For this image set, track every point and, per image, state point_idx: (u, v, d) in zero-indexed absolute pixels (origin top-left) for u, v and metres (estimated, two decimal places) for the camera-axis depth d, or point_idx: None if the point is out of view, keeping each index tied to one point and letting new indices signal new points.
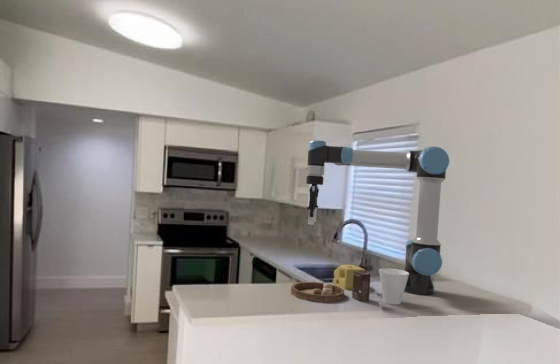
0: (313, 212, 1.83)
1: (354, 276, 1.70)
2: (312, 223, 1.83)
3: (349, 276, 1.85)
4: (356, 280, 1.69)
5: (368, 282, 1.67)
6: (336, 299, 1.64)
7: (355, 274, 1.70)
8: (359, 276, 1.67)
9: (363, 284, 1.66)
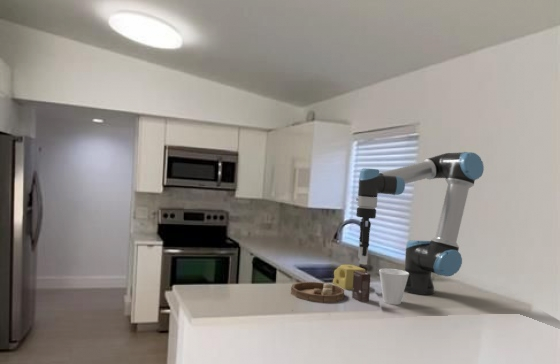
0: None
1: (354, 276, 1.70)
2: (365, 262, 1.62)
3: (349, 276, 1.85)
4: (356, 280, 1.69)
5: (368, 282, 1.67)
6: (336, 299, 1.64)
7: (355, 274, 1.70)
8: (359, 276, 1.67)
9: (363, 284, 1.66)
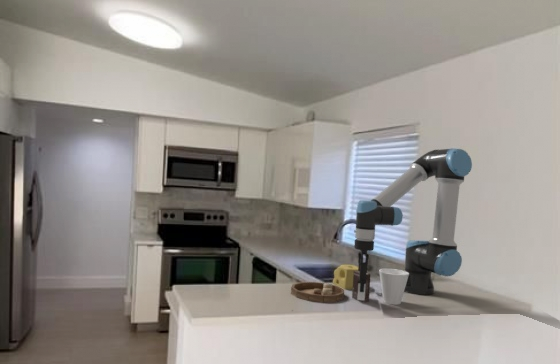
0: None
1: (354, 276, 1.70)
2: (362, 298, 1.65)
3: (349, 276, 1.85)
4: (356, 279, 1.69)
5: (368, 282, 1.67)
6: (336, 299, 1.64)
7: (355, 274, 1.70)
8: None
9: None
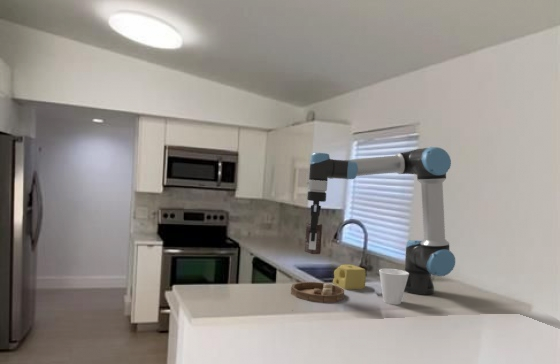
0: (315, 236, 1.69)
1: (307, 227, 1.74)
2: (313, 248, 1.69)
3: (349, 276, 1.85)
4: (308, 230, 1.72)
5: (320, 232, 1.71)
6: (336, 299, 1.64)
7: (308, 225, 1.73)
8: None
9: None
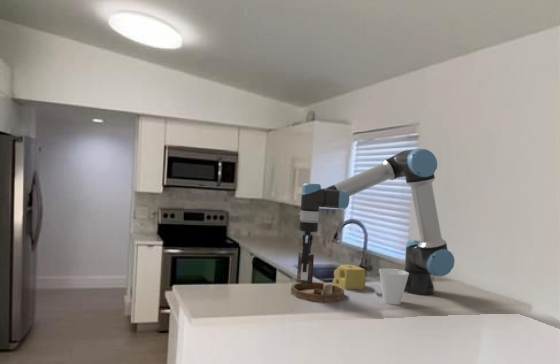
0: None
1: (299, 257, 1.74)
2: (305, 278, 1.69)
3: (349, 276, 1.85)
4: (300, 260, 1.73)
5: (311, 262, 1.71)
6: (336, 299, 1.64)
7: (299, 255, 1.74)
8: None
9: None
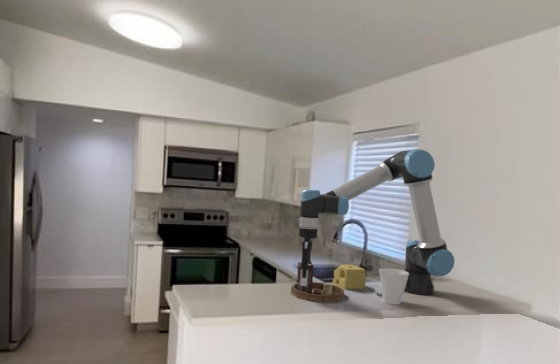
0: (306, 272, 1.68)
1: (298, 267, 1.74)
2: (305, 284, 1.68)
3: (349, 276, 1.85)
4: (300, 270, 1.73)
5: (311, 273, 1.71)
6: (336, 299, 1.64)
7: (299, 265, 1.74)
8: None
9: None
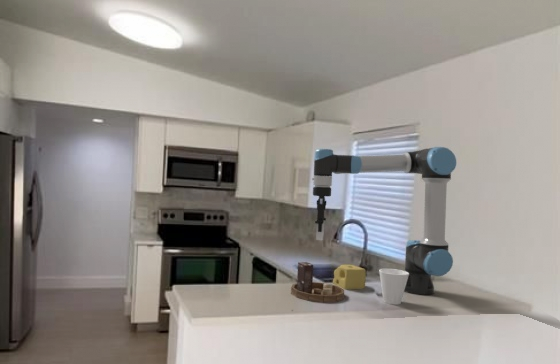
0: None
1: (298, 267, 1.74)
2: (321, 238, 1.70)
3: (349, 276, 1.85)
4: (300, 270, 1.73)
5: (311, 273, 1.71)
6: (336, 299, 1.64)
7: (299, 265, 1.74)
8: (302, 267, 1.71)
9: (305, 275, 1.70)
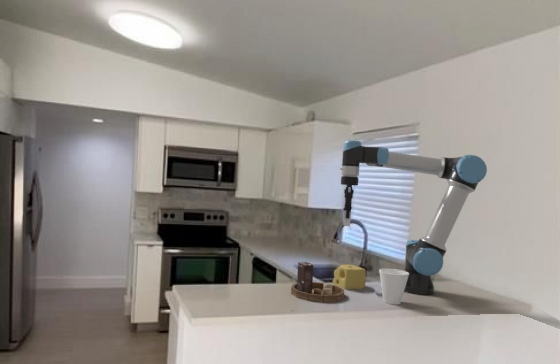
0: None
1: (298, 267, 1.74)
2: (348, 224, 1.80)
3: (349, 276, 1.85)
4: (300, 270, 1.73)
5: (311, 273, 1.71)
6: (336, 299, 1.64)
7: (299, 265, 1.74)
8: (302, 267, 1.71)
9: (305, 275, 1.70)
